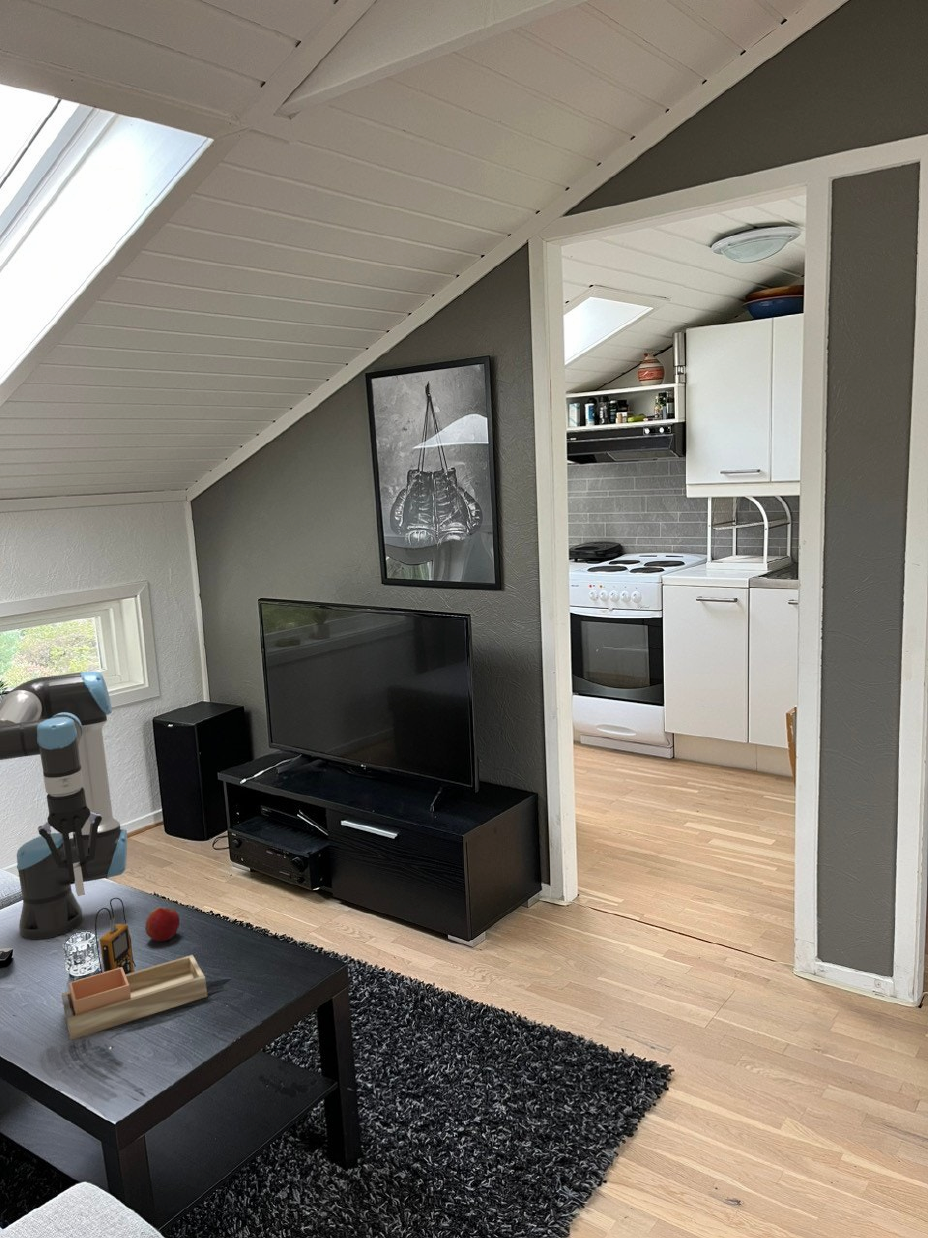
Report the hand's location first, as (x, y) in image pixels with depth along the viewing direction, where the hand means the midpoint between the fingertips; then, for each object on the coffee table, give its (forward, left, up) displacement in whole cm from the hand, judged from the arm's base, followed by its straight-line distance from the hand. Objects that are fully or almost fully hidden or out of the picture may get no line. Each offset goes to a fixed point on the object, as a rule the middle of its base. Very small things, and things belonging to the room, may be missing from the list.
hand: (80, 893), depth 208 cm
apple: (-19, +19, -25) cm, 37 cm away
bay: (+8, +7, -25) cm, 27 cm away
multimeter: (-1, +9, -25) cm, 27 cm away
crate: (+8, 0, -24) cm, 25 cm away
